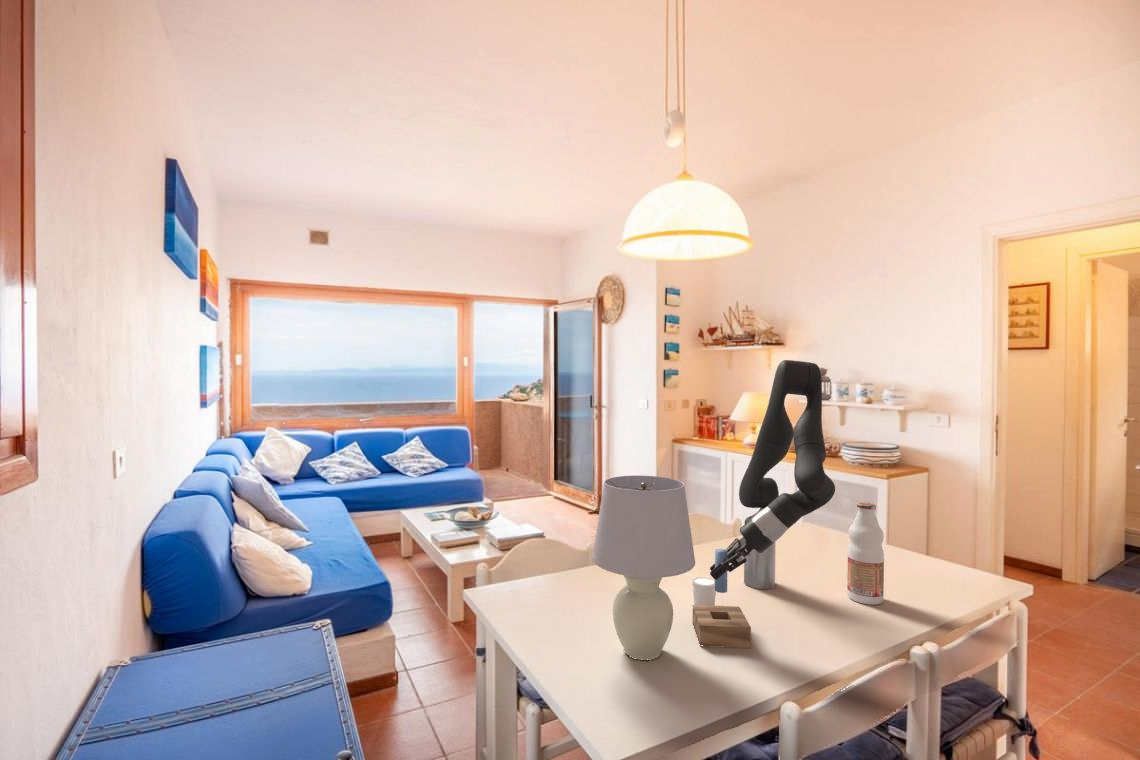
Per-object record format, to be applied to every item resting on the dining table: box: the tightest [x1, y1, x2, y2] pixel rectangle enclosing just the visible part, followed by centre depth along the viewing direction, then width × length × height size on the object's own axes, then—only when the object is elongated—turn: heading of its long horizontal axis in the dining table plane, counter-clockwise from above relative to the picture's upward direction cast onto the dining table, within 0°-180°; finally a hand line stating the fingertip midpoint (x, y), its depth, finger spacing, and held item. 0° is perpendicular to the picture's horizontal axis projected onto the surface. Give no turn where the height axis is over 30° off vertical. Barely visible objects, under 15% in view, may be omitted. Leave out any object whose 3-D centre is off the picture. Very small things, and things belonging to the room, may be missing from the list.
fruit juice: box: [846, 501, 885, 606], centre depth 163 cm, size 9×9×28 cm
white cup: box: [691, 576, 717, 606], centre depth 158 cm, size 7×7×7 cm
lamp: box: [591, 474, 696, 660], centre depth 131 cm, size 24×24×40 cm
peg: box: [714, 548, 728, 594], centre depth 140 cm, size 3×3×10 cm
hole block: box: [692, 604, 752, 649], centre depth 140 cm, size 12×12×5 cm
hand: (712, 574), depth 140 cm, fingers closed on peg, 3 cm apart
